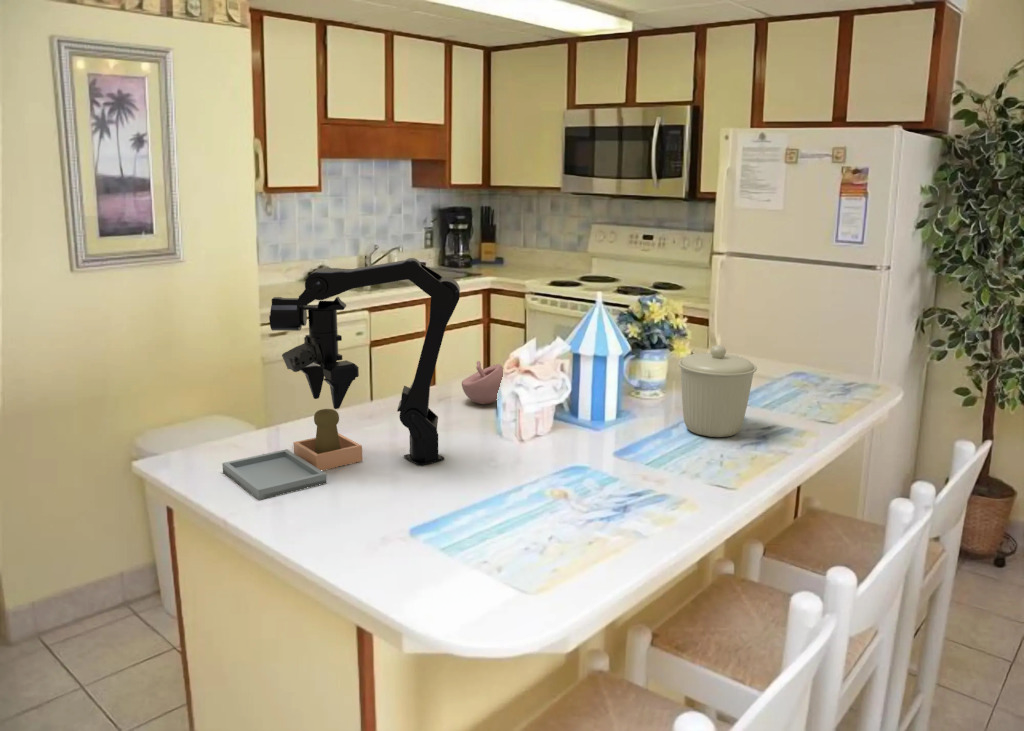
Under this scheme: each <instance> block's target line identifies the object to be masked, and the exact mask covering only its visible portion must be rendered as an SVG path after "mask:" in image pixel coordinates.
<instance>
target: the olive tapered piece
mask: <svg viewBox="0 0 1024 731" xmlns="http://www.w3.org/2000/svg"><path fill="white" fill-rule="evenodd" d="M339 421H340V414H339V412H338V411H337V409H334V408H322V409H319V410H317V411H316V412H315V413H314V415H313V422H314V424H315V426H316V430H315V431H316V432H315V433H316V434H315V438H316V442H315V453H317V454H321V453H325V452H330V451H334V450H339V449H341V448H340V442H339V436H338V433H339V432H338V431H339V430H338V426H337V425H338V424H339Z"/></svg>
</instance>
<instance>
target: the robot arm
mask: <svg viewBox="0 0 1024 731" xmlns="http://www.w3.org/2000/svg"><path fill="white" fill-rule="evenodd" d="M407 280H408V281H410V282H412V283H413V284H414V285H415V286H417V287H418V288H419V289H420V290H422V292H424V293H425V294H426V295H428V296H429V297H430V304H429V305H430V306H429V307H430V308H429V322H428V326H427V328H426V333H425V338H424V340H423V345H422V348H421V352H420V356H419V360H418V364H417V367H416V372H415V374H414V378H413V381H412V383H411V385H410V387H409V386H407V385H403V388H402V392H401V399H400V400H399V402H398V406H397V410H396V412H399V421H400V422H401V424H402V425H403V426H404V427H405V428H407V429H408V432H409V453H407V454H405V455H403V458H404V459H406V460H408V461H410V462H411V463H413V464H415V465H417V466H424V465H425V466H426V465H428V464H432V463H437V462H440V461H444V460H445V456H444V455H441V454H439V433H438V423H439V415H438V414H436V413H434V411H432V409H430V407H429V405H430V391H431V384H432V381H433V376H434V373H435V372H434V371H435V368H436V365H437V361H438V357H439V353H440V350H441V346H442V343H443V339H444V335H445V331H446V328H447V325H448V323H449V321H450V320H451V317H452V316H453V313H454V311H455V309H456V307H457V306H458V303H459V300H460V295H461V294H460V292H461V288H460V285H459V283H458V282H457V281H456V280H455V279H454V278H452V277H447V276H444V277H443V276H442V275H441V274H439V273H437V272H436V271H435V270H433V269H431V268H430V267H428V266H426V265H424V264H423V263H422V262H420V260H418V259H417V258H414V257H409V258H406V259H405V260H398V261H393V262H385V263H380V264H375V265H369V266H363V267H357V268H342V267H341V268H340V267H322V268H321V267H320V268H318V269H315V270H314V271H312V272H311V273H310V274H309V275H308V276H307V277H306V279H305V282H304V290H303V291H302V293H301V294H299V295H298V297H281V296H274V297H273V298H271V305H270V312H269V313H270V314H269V316H268V317H269V318H268V319H269V320H268V321H269V327H270V329H271V331H282V332H283V331H290V332H292V331H294V332H295V331H297V332H298V331H302V327H306V326H307V323H308V334H305V337H304V338H303V339H304V340H303V341H304V343H302V344H300V345H297V346H295V347H293V348H290V349H289V350H287V351H285V352H283V353H282V354H281V356H282V360H283V362H284V363H285V366H286V368H287V370H291V371H292V372H294V373H299V372H302V373H303V374H304V376H305V378H306V381H307V383H308V386H309V389H310V392H311V395H312V397H313V399H314V400H317V399H320V396H321V392H322V388H323V383H324V382H325V383H327V384H328V386H329V389H330V394H331V401H332V406H333V410H338V409H340V407H341V406H342V404H343V403H342V402H343V401H344V399H345V397H346V395H347V392H348V390H349V388H350V387H351V385H352V383H353V381H355V380H356V378H358V377H360V374H359V373H360V372H359V369H360V368H359V366H358V365H357V364H356V363H353V362H351V361H349V360H343V354H340V353H339V342H341V341H342V335H340V334H338V314H337V313H338V311H344V310H345V308H346V307H347V303H345V302H344V301H342V299H341V298H340V297H339V296H338V295H340V294H342V293H345V292H347V291H350V290H353V289H358V288H359V289H360V288H364V287H369V286H370V287H371V286H375V285H383V284H387V283H393V282H394V283H395V282H400V281H407ZM335 296H336V297H335ZM332 297H335V298H334V300H328V299H329V298H332ZM315 300H316V301H318V303H317V304H311V303H312V302H314V301H315Z"/></svg>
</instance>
